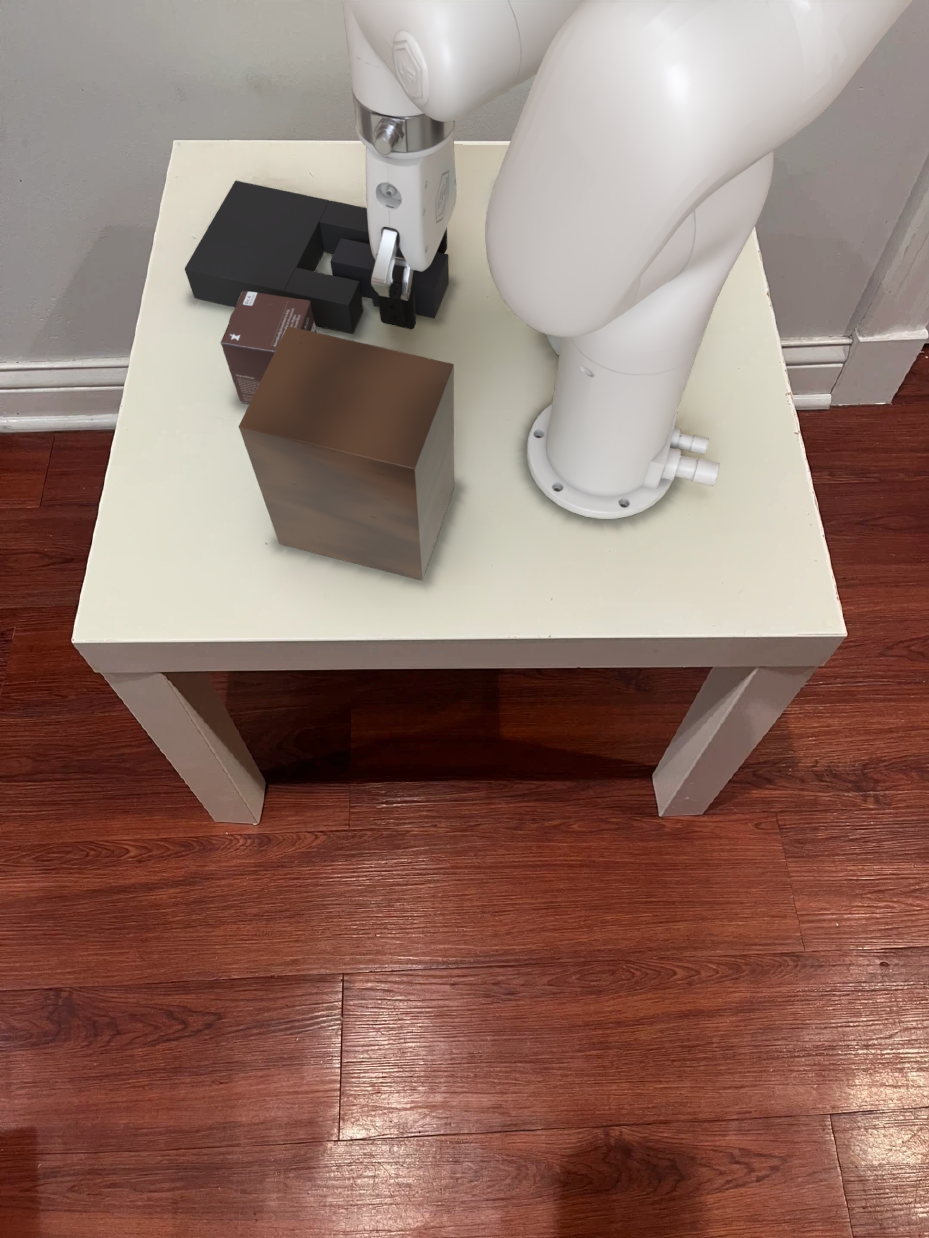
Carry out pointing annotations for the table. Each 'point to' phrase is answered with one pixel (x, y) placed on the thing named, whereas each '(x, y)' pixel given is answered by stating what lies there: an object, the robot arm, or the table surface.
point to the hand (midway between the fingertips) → (414, 285)
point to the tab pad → (393, 275)
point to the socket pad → (279, 252)
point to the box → (260, 335)
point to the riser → (354, 450)
